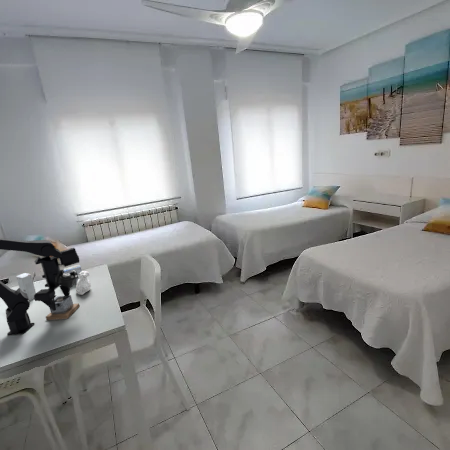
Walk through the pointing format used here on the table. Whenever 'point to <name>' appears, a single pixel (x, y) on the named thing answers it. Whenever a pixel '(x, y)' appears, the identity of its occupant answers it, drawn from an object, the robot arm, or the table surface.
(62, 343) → the table surface
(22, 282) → the skincare box
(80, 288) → the bust
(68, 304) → the grey square sleeve
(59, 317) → the post stand
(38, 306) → the table surface
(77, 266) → the medicine box
